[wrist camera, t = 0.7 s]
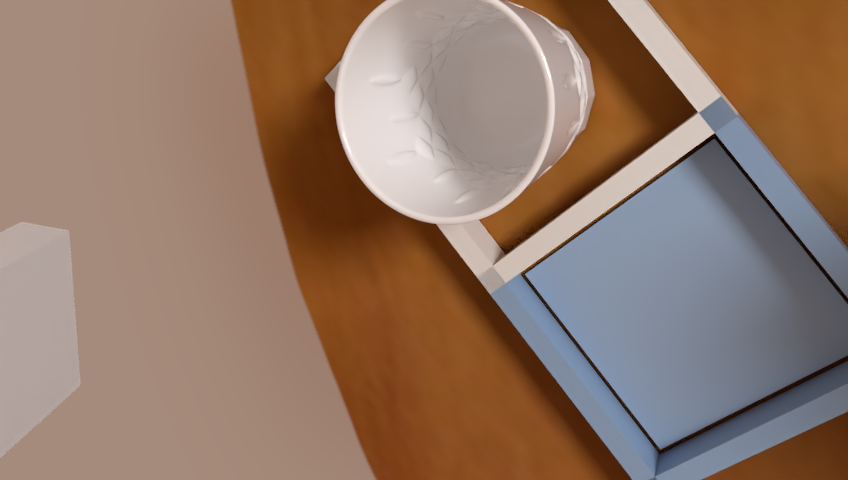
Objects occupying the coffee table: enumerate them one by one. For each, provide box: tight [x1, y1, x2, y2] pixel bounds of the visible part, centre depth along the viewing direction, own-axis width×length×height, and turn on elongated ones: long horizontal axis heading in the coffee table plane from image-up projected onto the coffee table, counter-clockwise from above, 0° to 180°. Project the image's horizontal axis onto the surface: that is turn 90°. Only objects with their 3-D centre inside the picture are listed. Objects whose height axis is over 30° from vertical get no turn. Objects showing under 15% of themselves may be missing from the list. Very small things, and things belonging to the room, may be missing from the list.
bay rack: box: [324, 0, 848, 480], centre depth 31 cm, size 13×25×2 cm, turn 42°
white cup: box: [335, 0, 595, 225], centre depth 28 cm, size 8×8×10 cm
